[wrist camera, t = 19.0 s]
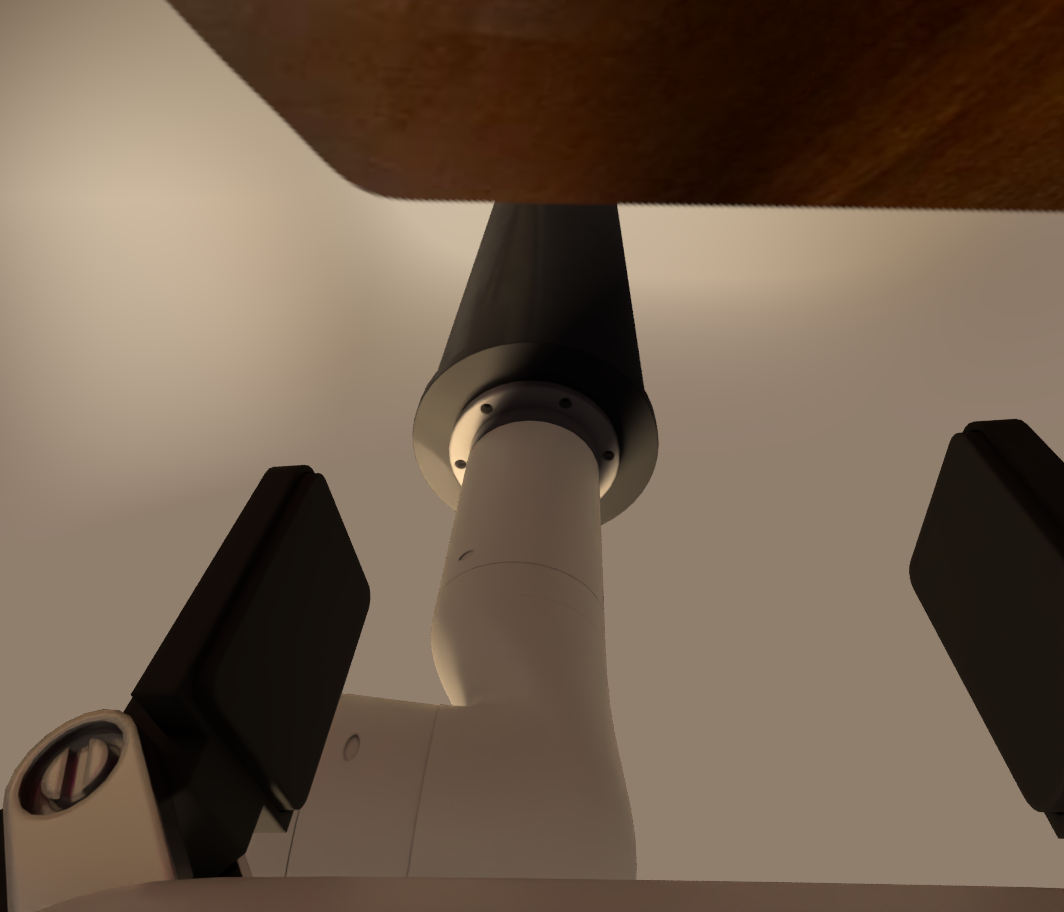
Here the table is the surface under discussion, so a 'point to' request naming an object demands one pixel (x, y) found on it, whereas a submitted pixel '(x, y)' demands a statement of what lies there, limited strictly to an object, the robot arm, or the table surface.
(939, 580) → the robot arm
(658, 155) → the table surface
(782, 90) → the table surface
